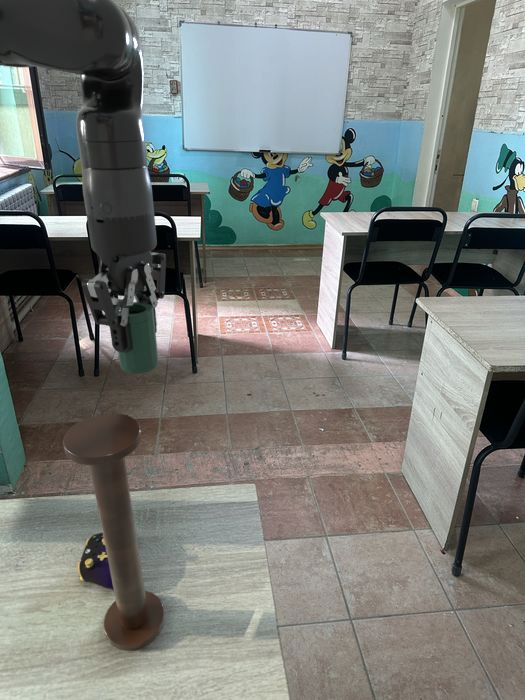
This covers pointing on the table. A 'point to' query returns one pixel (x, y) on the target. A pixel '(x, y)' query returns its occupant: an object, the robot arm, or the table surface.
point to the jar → (140, 340)
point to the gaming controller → (95, 563)
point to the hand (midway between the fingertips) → (136, 341)
